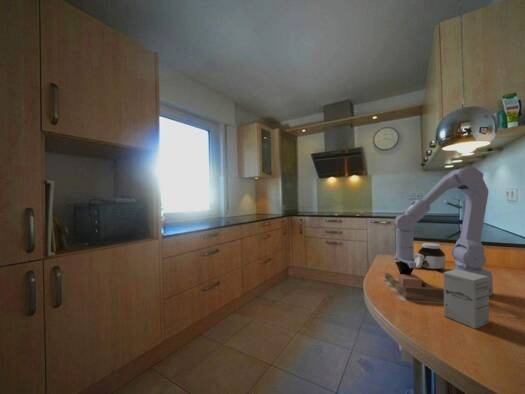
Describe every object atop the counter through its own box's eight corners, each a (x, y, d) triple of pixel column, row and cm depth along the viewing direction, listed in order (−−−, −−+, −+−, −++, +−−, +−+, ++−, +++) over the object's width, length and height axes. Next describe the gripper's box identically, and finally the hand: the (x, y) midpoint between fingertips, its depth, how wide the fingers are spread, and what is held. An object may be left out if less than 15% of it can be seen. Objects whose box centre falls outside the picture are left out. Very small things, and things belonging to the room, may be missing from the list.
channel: (380, 278, 95) (380, 267, 95) (418, 280, 92) (418, 269, 92) (401, 302, 74) (401, 288, 74) (451, 306, 71) (451, 291, 71)
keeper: (398, 284, 87) (397, 274, 87) (415, 285, 86) (415, 274, 86) (403, 289, 82) (402, 278, 82) (421, 290, 81) (421, 279, 81)
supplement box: (442, 316, 65) (442, 271, 65) (458, 311, 68) (457, 268, 68) (475, 330, 58) (474, 280, 58) (490, 323, 61) (489, 275, 61)
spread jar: (448, 271, 104) (448, 245, 104) (432, 274, 100) (432, 247, 100) (422, 264, 115) (421, 241, 115) (406, 267, 111) (406, 243, 111)
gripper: (387, 242, 96) (387, 274, 96) (400, 250, 82) (401, 288, 82) (405, 242, 94) (406, 275, 94) (422, 250, 80) (423, 289, 80)
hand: (405, 281), depth 88 cm, fingers closed
